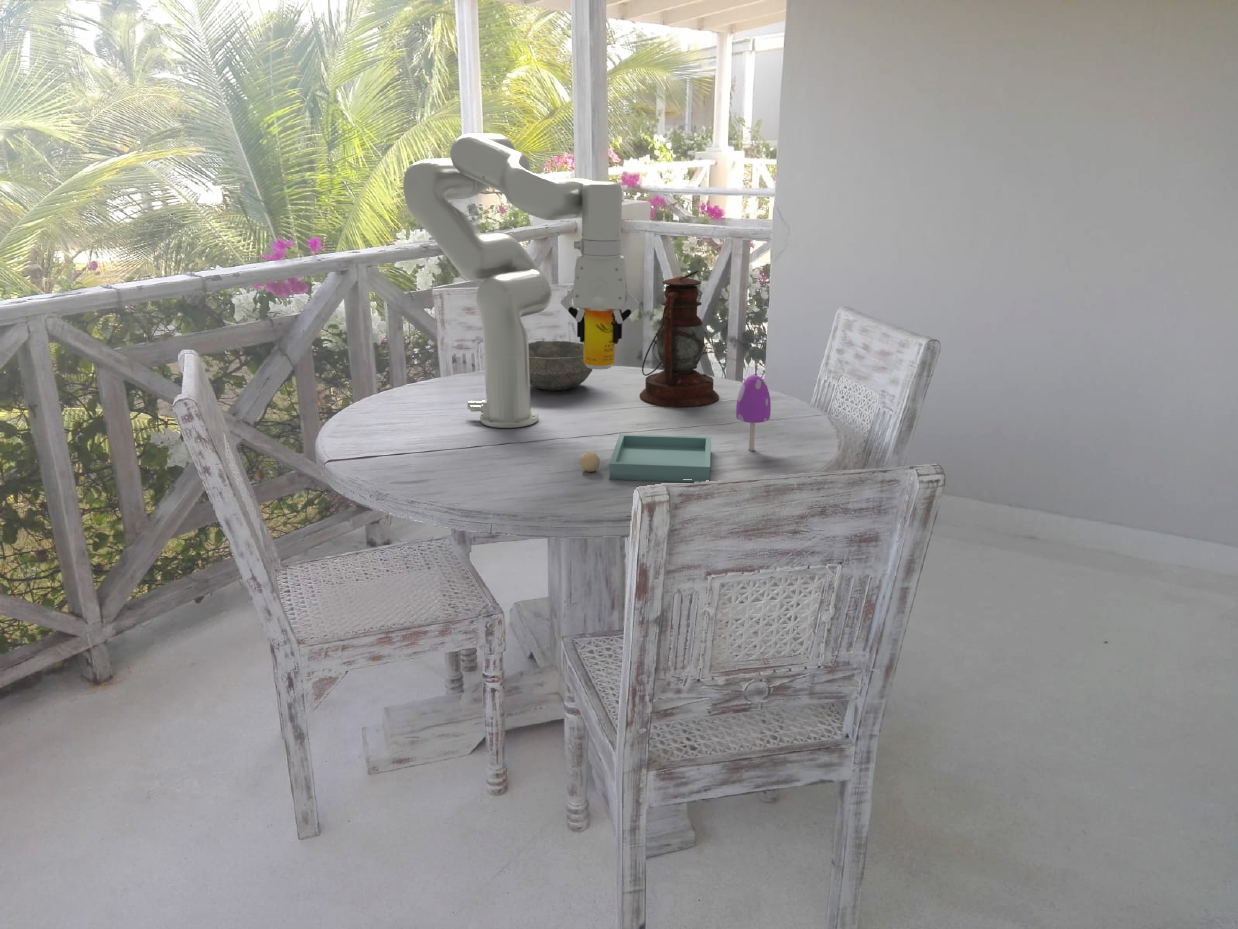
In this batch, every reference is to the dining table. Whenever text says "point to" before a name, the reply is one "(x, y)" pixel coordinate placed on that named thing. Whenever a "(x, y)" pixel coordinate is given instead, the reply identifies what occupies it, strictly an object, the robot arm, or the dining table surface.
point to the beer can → (598, 335)
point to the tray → (661, 458)
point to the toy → (753, 404)
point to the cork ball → (590, 461)
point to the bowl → (557, 365)
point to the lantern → (679, 351)
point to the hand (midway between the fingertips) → (599, 340)
